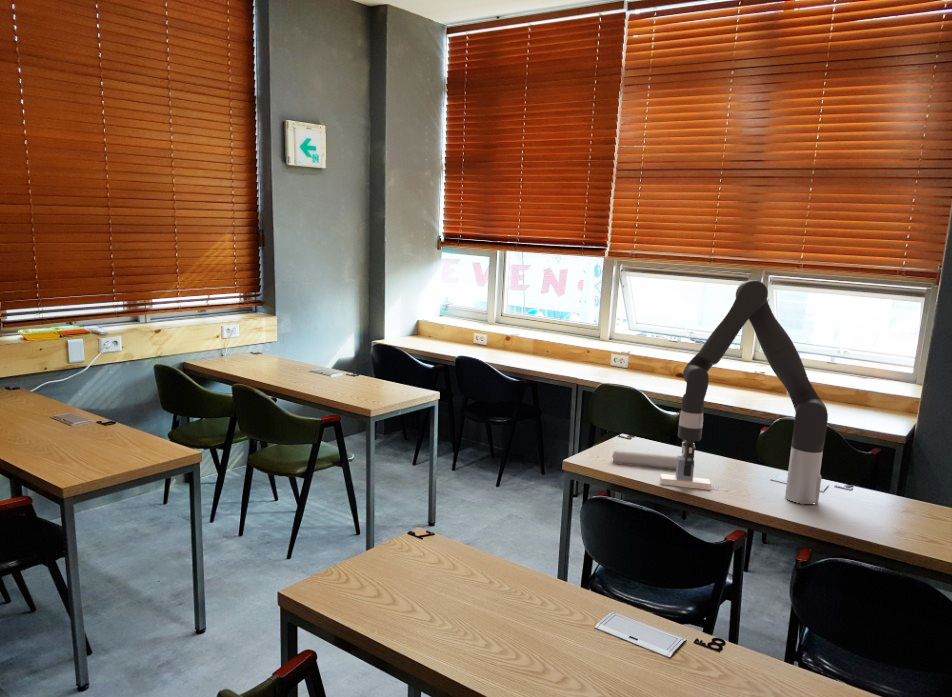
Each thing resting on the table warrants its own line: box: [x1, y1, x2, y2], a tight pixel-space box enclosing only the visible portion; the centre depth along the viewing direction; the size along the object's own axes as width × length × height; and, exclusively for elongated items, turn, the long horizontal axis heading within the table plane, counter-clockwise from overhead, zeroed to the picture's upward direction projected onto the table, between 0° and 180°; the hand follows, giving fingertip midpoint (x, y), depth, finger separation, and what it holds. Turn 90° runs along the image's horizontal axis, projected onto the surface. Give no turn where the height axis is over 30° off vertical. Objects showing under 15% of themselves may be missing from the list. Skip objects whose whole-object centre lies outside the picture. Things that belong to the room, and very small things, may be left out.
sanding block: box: [675, 455, 695, 482], centre depth 239 cm, size 5×5×7 cm
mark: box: [709, 485, 719, 491], centre depth 238 cm, size 3×4×1 cm
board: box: [659, 473, 712, 491], centre depth 240 cm, size 16×5×2 cm, turn 78°
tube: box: [612, 449, 682, 470], centre depth 259 cm, size 5×5×25 cm
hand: (685, 472), depth 239 cm, fingers open, 7 cm apart
